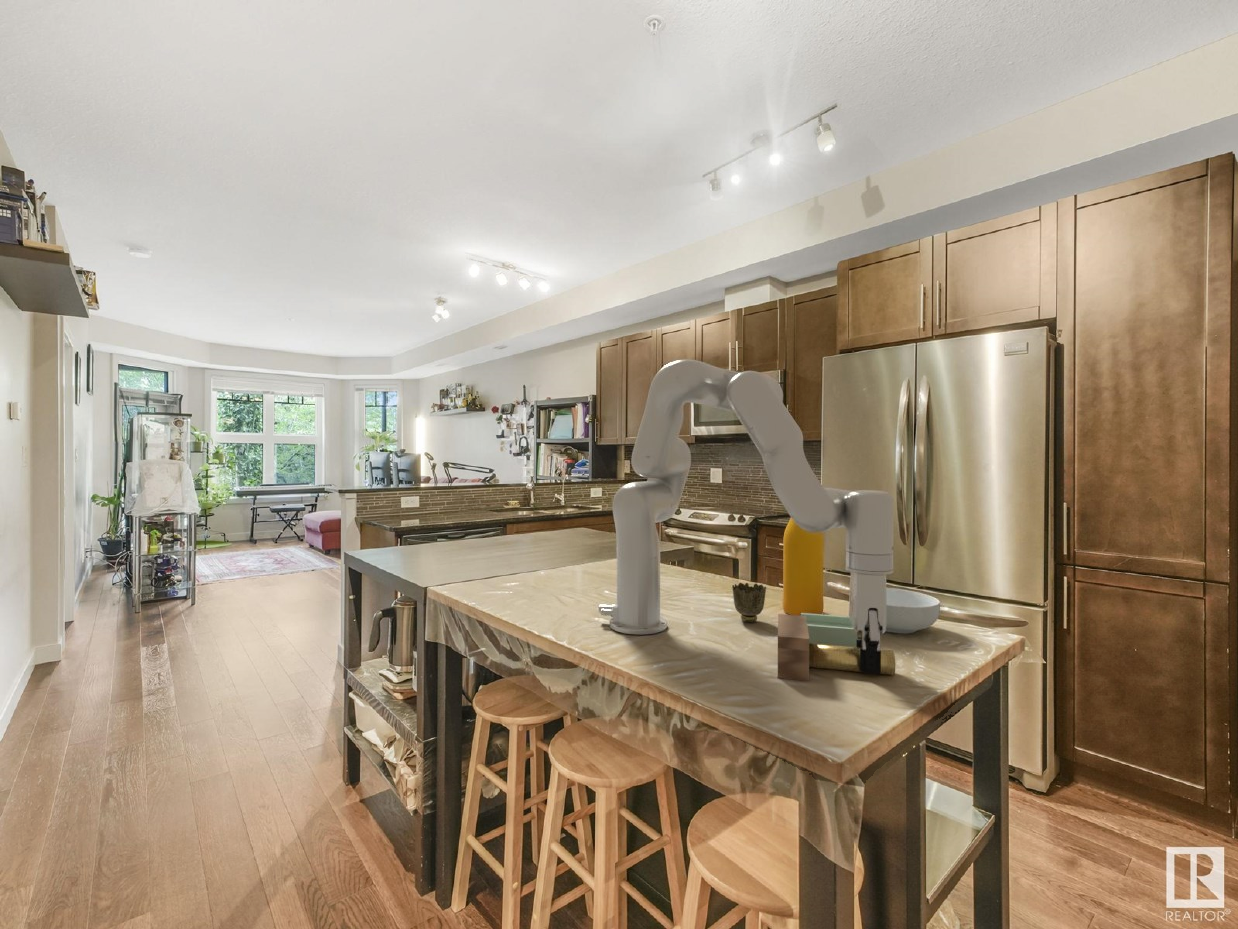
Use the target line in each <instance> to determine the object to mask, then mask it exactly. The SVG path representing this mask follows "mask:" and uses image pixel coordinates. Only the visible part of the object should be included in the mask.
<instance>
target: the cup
mask: <svg viewBox="0 0 1238 929" xmlns="http://www.w3.org/2000/svg"><path fill="white" fill-rule="evenodd" d="M731 588H732V596H733V604H734V607H735V609H736V612H737V613H739V614H740V620H741V621H742V622H743V623H749V624H751V623H752V624H753V623H755V622H757V621H758V615H760V614H761V613H762V611H763V610H764V606H765V599H766V591H767V587H766V586H764V585H763V584H758V583H756V582H755V583H754V584H753V586H752V585H751V586H750V585H749V583H748V582H746V583H745V584H744V583H742V582H739V583H738V584H736V583H734V584H733V585H732V587H731Z"/></svg>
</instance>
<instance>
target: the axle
mask: <svg viewBox="0 0 1238 929" xmlns="http://www.w3.org/2000/svg"><path fill="white" fill-rule="evenodd" d="M880 650H881V673H880V674H879V675H887V676H895V674H896V656H895V652H894V650H890V649H881V648H880ZM809 668H817V669H827V670H838V671H839V670H840V671H846V672H847V671H849V672H857V673H862V672H861V671H860V648H859V647H848V646H836V645H825V644H813V643H809Z"/></svg>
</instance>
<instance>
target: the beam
mask: <svg viewBox="0 0 1238 929" xmlns="http://www.w3.org/2000/svg"><path fill="white" fill-rule="evenodd" d="M777 615H778V616H777V617H778V618H777V619H778V620H777V678H778V679H787V680H795V681H796V680H797V681H804V682H805V681H806V682H809V681H810V667H809V634H808V628H807V621H806V616H799V615H789V614H787V613H786V614H783V613H778V614H777Z"/></svg>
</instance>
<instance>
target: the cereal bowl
mask: <svg viewBox="0 0 1238 929" xmlns="http://www.w3.org/2000/svg"><path fill="white" fill-rule="evenodd" d="M886 601H887V607H886V631H885V632H888V633H893V634H894V633H895V634H913V633H915V632H917V631H921V630H924V629H928V628H930V627H932V626H933V625H934V624H935V623H936V622H937V620H938V618H939V617H940V611H941V601H940V600H939V599H938V598H936V597H934V596H931V595H929V594H925V593H922V592H918V591H913V590H907V589H902V588H894V587H893V588H891V587H887V588H886Z"/></svg>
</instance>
